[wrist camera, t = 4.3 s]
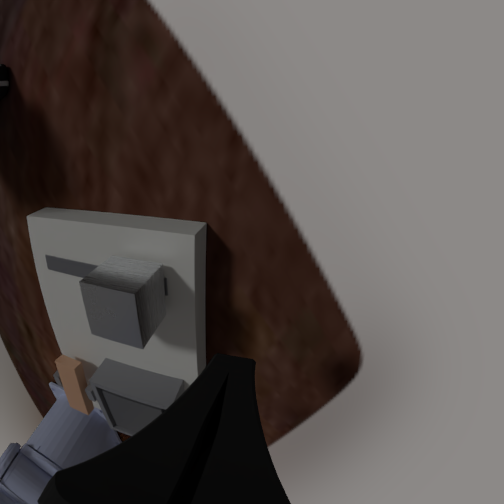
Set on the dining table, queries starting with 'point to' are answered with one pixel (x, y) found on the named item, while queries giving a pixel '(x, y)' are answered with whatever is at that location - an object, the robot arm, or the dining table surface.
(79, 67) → the dining table surface
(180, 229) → the control panel
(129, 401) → the push button
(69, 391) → the rocker switch
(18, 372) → the dining table surface
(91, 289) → the slider knob
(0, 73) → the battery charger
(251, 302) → the dining table surface
